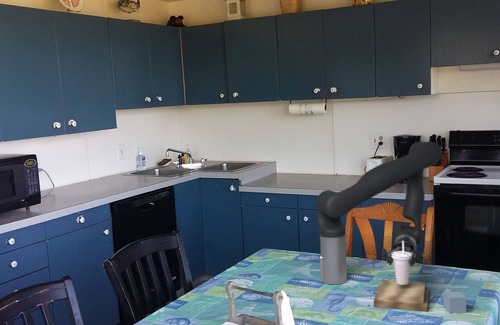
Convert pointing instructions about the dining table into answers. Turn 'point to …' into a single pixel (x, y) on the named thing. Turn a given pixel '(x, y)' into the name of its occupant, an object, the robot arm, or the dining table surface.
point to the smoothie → (401, 265)
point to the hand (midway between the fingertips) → (400, 262)
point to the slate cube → (454, 302)
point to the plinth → (401, 304)
